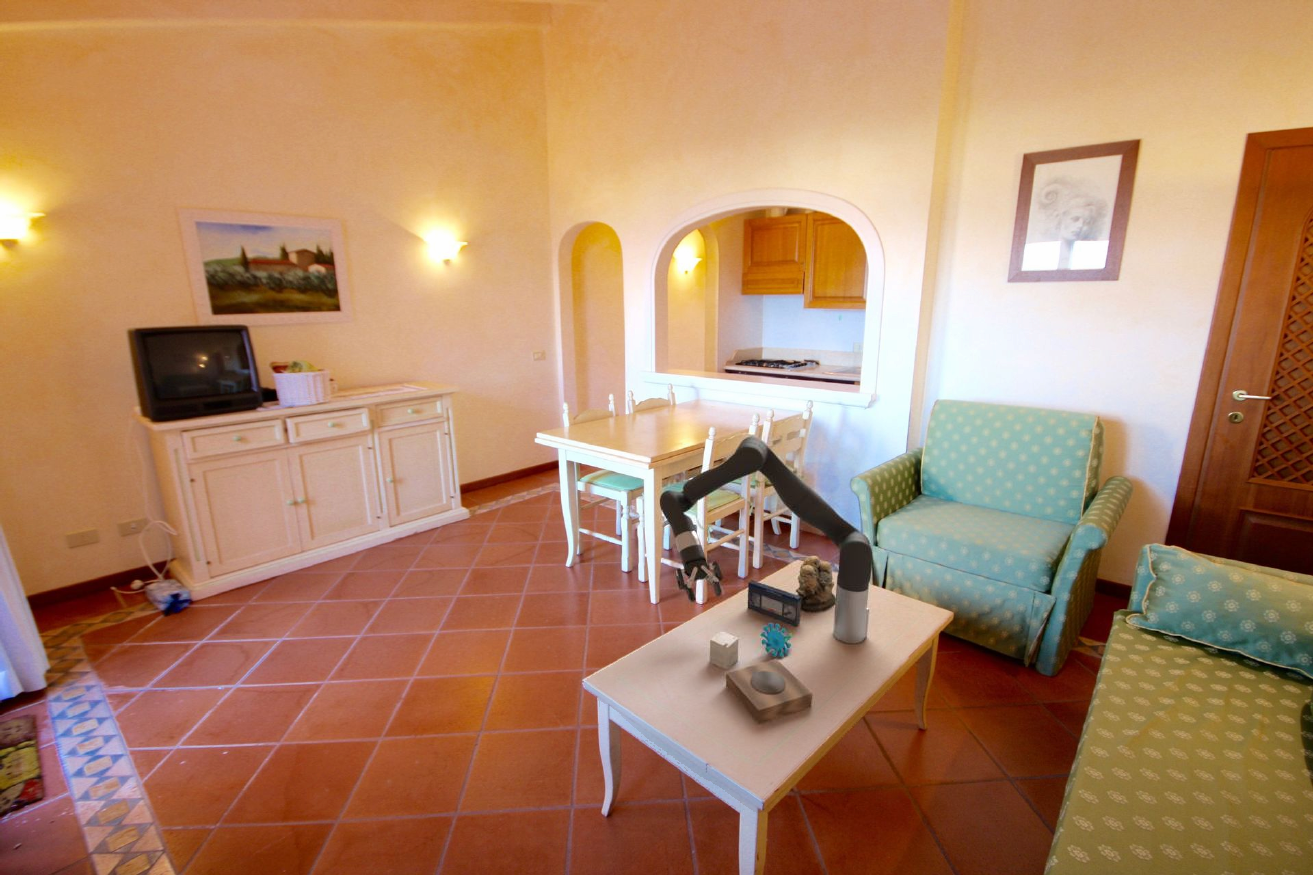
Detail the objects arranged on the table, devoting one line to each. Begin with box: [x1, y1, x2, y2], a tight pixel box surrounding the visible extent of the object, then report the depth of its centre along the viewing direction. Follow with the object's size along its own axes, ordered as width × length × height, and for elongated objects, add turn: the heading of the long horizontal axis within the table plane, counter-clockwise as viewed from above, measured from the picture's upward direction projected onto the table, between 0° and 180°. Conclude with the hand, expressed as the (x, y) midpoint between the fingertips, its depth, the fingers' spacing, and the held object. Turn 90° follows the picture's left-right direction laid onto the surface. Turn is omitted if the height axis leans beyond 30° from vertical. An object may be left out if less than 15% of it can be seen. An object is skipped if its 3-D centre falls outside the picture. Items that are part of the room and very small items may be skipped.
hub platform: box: [725, 658, 813, 725], centre depth 154 cm, size 16×16×4 cm
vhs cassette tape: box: [747, 579, 802, 628], centre depth 192 cm, size 18×3×10 cm, turn 49°
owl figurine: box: [795, 555, 836, 613], centre depth 200 cm, size 18×12×17 cm, turn 130°
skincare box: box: [709, 630, 739, 670], centre depth 168 cm, size 6×6×7 cm
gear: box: [760, 622, 793, 658], centre depth 175 cm, size 11×6×10 cm
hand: (706, 598), depth 176 cm, fingers open, 8 cm apart
